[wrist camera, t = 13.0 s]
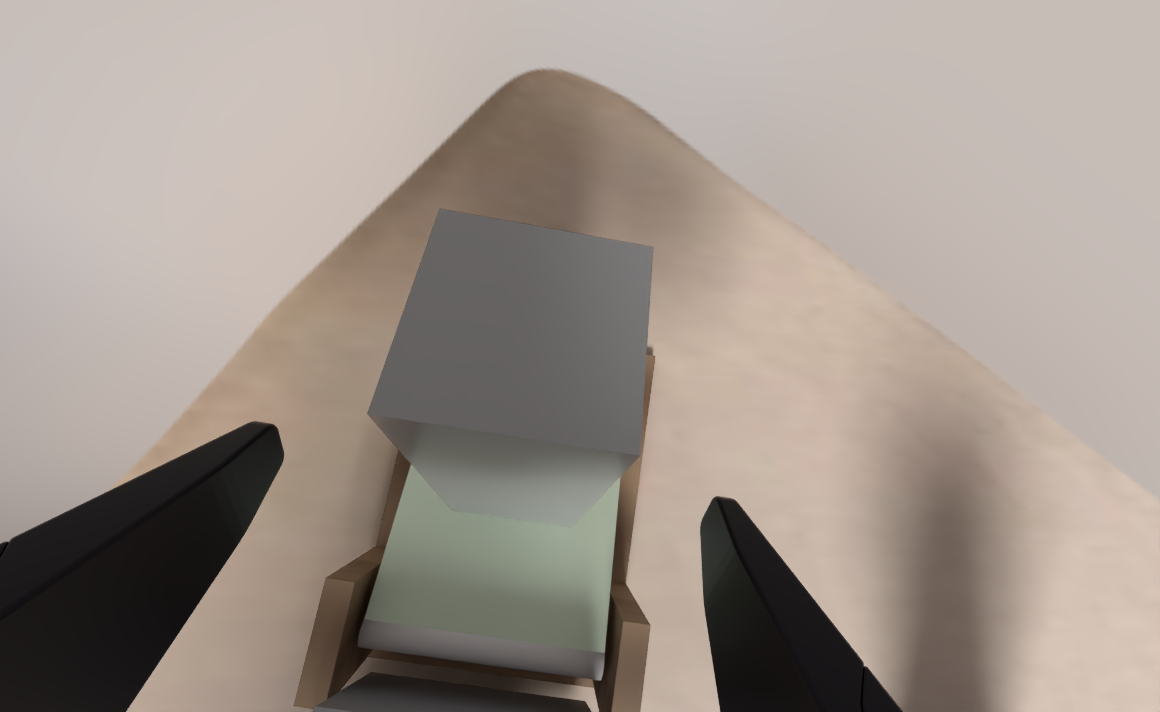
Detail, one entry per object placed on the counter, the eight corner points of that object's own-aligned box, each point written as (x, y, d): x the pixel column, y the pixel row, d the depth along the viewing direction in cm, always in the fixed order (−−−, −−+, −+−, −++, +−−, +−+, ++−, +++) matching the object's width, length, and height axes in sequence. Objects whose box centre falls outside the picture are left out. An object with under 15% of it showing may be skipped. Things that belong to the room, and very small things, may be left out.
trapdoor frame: (610, 684, 21) (633, 767, 16) (355, 649, 21) (289, 723, 15) (653, 357, 24) (685, 333, 19) (432, 318, 24) (399, 282, 18)
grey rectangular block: (571, 527, 19) (640, 455, 9) (451, 510, 19) (367, 413, 8) (585, 414, 21) (652, 246, 11) (478, 397, 21) (439, 208, 10)
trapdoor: (575, 794, 18) (600, 882, 13) (345, 765, 18) (271, 843, 12) (614, 416, 25) (640, 372, 20) (451, 389, 25) (433, 336, 20)
